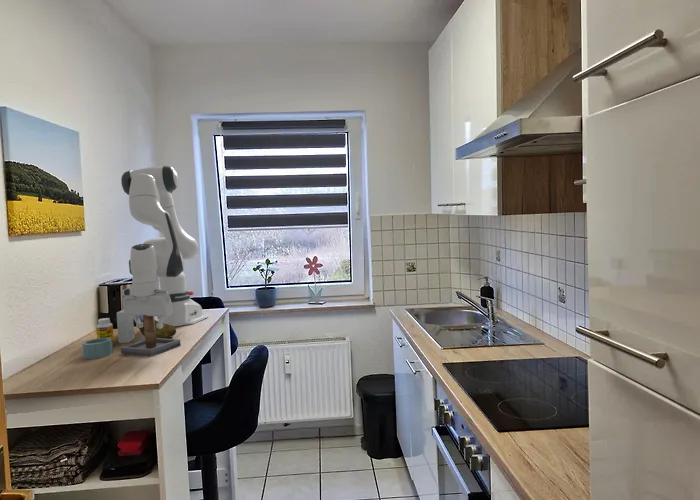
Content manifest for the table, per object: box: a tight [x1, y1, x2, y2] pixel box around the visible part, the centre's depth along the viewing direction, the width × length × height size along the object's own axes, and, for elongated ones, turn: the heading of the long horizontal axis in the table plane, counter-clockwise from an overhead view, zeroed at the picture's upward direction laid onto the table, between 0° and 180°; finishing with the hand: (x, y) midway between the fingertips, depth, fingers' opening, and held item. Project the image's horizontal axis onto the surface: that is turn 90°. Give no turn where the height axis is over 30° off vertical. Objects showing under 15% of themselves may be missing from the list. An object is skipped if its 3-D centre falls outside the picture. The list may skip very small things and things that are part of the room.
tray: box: [120, 338, 182, 357], centre depth 177 cm, size 14×14×2 cm
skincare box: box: [116, 309, 135, 344], centre depth 192 cm, size 6×4×12 cm
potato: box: [138, 319, 177, 339], centre depth 193 cm, size 8×13×8 cm, turn 95°
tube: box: [81, 338, 114, 360], centre depth 174 cm, size 9×9×5 cm
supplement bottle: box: [95, 317, 115, 346], centre depth 187 cm, size 6×6×10 cm
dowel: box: [142, 315, 157, 348], centre depth 176 cm, size 4×4×12 cm
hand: (149, 327), depth 176 cm, fingers open, 8 cm apart
